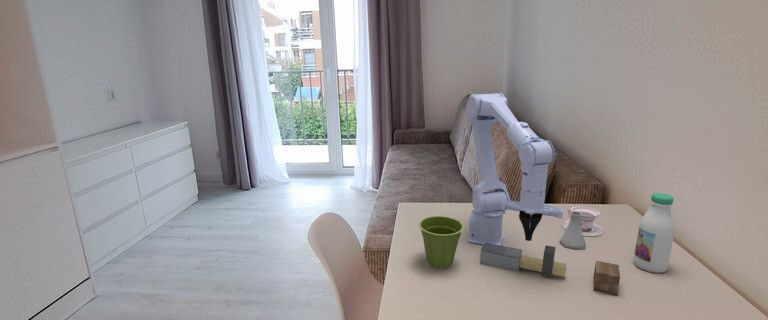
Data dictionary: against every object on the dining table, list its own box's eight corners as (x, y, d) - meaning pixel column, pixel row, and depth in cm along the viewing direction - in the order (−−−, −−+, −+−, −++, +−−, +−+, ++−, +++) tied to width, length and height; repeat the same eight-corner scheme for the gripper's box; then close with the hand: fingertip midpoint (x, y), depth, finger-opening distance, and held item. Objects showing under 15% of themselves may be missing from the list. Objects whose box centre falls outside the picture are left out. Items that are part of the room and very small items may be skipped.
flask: (588, 251, 118) (593, 218, 115) (562, 248, 119) (565, 216, 116) (582, 239, 125) (586, 209, 122) (557, 237, 126) (560, 207, 123)
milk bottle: (662, 261, 112) (675, 192, 106) (671, 276, 105) (685, 202, 99) (630, 257, 114) (641, 189, 109) (636, 271, 107) (649, 199, 102)
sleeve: (479, 264, 111) (480, 249, 110) (483, 256, 115) (484, 242, 114) (518, 272, 107) (519, 257, 106) (520, 264, 111) (522, 249, 109)
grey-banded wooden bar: (481, 263, 111) (483, 240, 109) (485, 256, 115) (486, 234, 113) (564, 281, 102) (567, 257, 100) (565, 272, 106) (568, 249, 104)
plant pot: (413, 269, 109) (413, 230, 106) (424, 249, 119) (425, 213, 116) (457, 277, 105) (459, 237, 102) (465, 256, 115) (467, 219, 112)
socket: (593, 290, 99) (596, 272, 97) (593, 278, 104) (595, 260, 103) (617, 295, 97) (620, 277, 95) (615, 283, 102) (618, 264, 100)
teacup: (605, 226, 134) (608, 208, 132) (601, 240, 124) (603, 221, 122) (565, 218, 140) (567, 201, 138) (558, 231, 130) (561, 213, 129)
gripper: (500, 189, 102) (496, 240, 105) (563, 198, 95) (557, 251, 99) (505, 181, 108) (502, 229, 111) (565, 189, 102) (559, 239, 105)
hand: (528, 239), depth 106 cm, fingers closed
